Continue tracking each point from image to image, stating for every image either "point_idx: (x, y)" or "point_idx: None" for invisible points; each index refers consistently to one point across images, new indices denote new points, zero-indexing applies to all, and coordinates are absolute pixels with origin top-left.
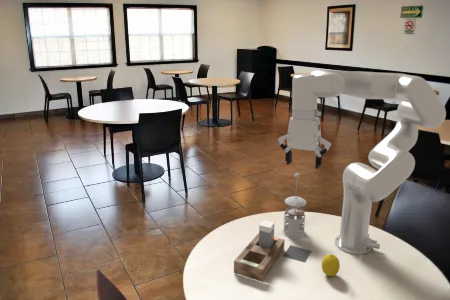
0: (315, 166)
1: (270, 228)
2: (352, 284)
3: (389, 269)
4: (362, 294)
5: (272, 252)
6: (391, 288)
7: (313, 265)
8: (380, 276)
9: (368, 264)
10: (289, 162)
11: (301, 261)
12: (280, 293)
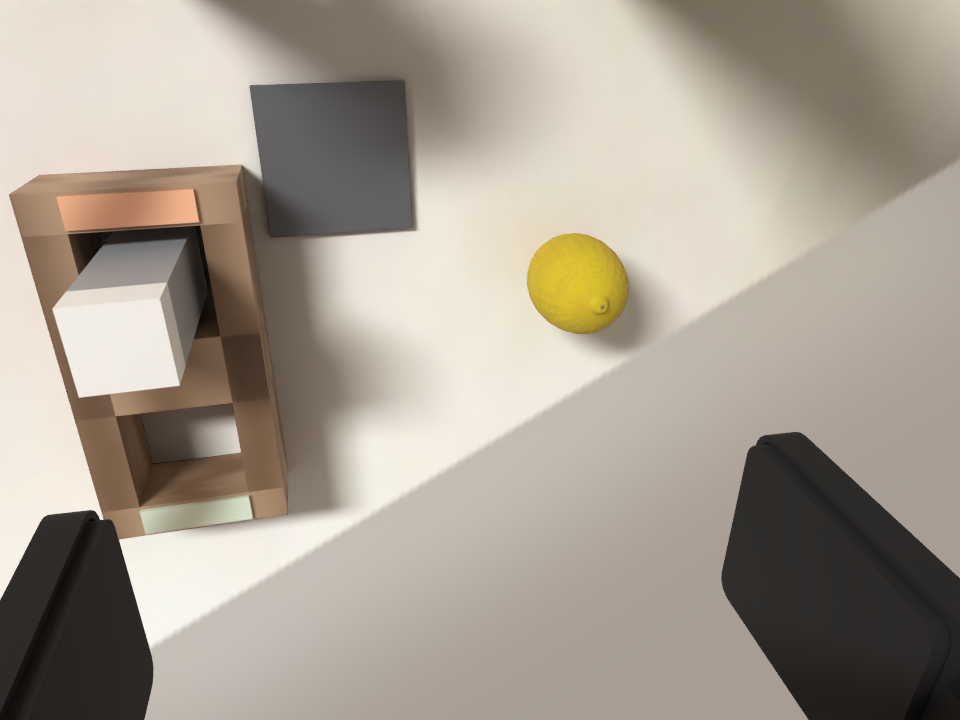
0: (740, 615)
1: (180, 377)
2: (660, 265)
3: (824, 34)
4: (702, 308)
5: (248, 360)
6: (816, 199)
7: (457, 217)
8: (778, 128)
9: (725, 43)
10: (136, 663)
11: (389, 228)
12: (395, 486)
